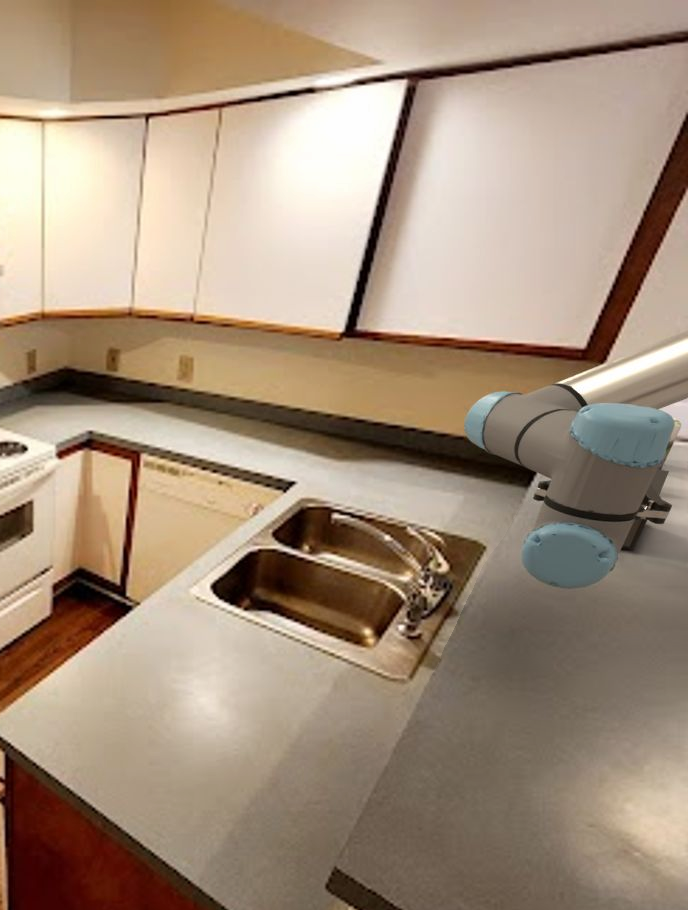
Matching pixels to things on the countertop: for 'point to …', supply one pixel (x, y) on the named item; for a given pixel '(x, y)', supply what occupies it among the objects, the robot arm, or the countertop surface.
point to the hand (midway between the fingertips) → (617, 469)
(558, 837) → the countertop surface
